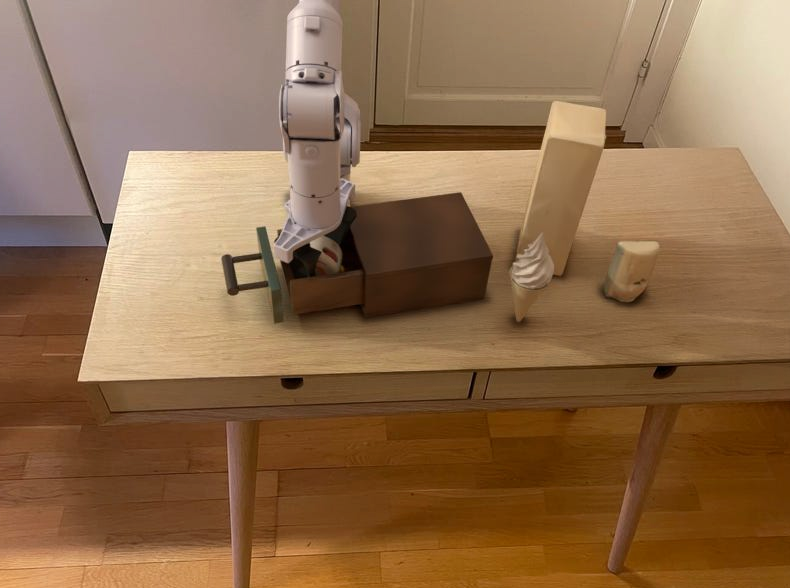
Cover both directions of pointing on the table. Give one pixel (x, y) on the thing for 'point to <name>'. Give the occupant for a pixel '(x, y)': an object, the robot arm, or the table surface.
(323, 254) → the roller toy
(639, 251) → the cream stubby rounded block
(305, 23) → the robot arm
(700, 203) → the table surface
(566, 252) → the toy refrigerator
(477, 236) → the cabinet
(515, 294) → the ice cream cone
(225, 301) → the table surface
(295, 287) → the drawer
